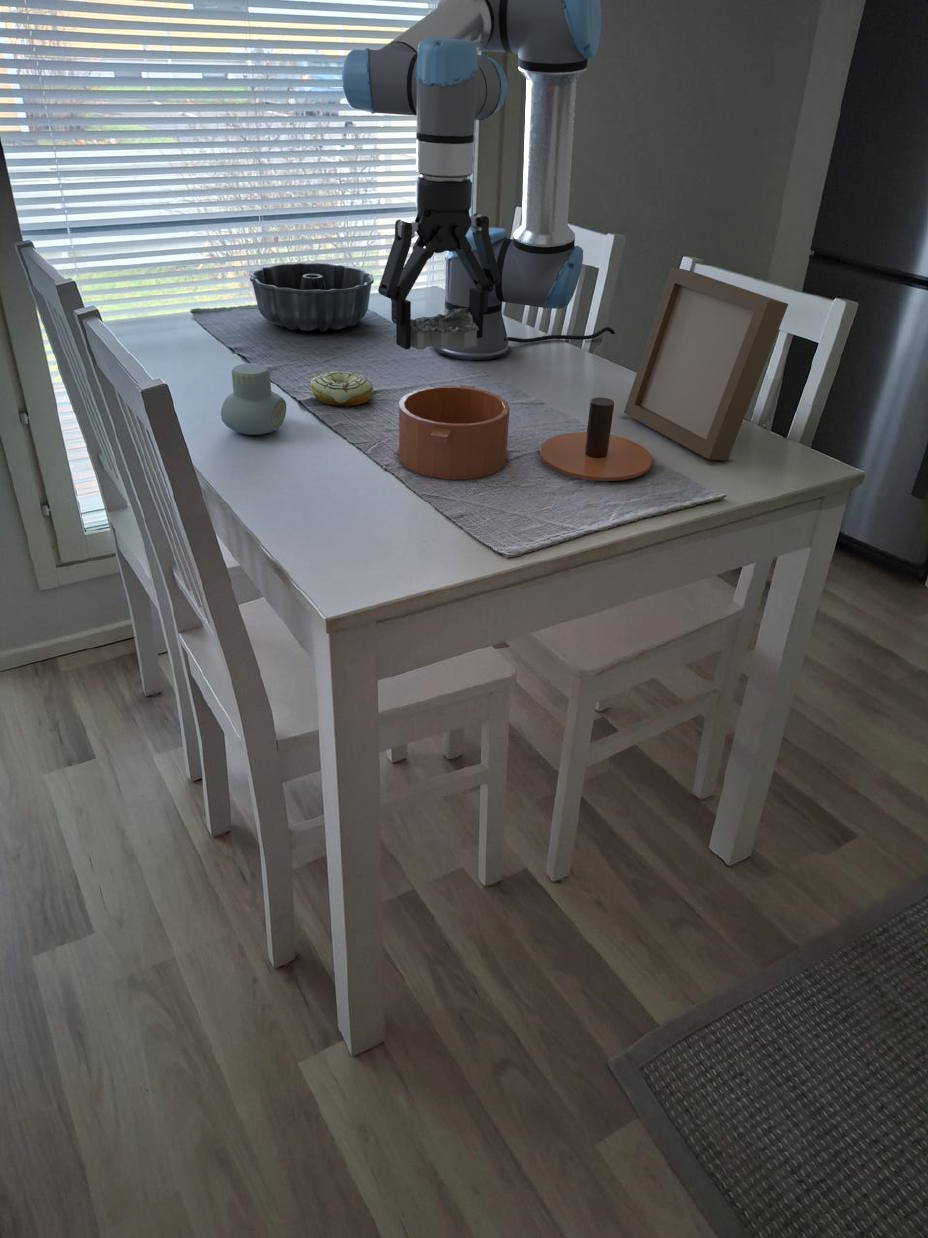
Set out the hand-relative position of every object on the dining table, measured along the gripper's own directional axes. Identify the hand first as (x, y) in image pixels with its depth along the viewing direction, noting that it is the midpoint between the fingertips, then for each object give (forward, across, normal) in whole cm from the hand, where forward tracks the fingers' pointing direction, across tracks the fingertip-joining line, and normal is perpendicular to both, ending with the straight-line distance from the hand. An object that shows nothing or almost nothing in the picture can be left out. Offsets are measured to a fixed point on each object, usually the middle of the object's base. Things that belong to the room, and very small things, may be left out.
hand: (440, 340), depth 132 cm
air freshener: (+18, +20, -23) cm, 36 cm away
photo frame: (+18, -44, +13) cm, 49 cm away
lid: (+17, -21, +14) cm, 30 cm away
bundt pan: (+18, -15, -74) cm, 78 cm away
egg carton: (0, 0, 0) cm, 0 cm away
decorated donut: (+18, +1, -29) cm, 35 cm away
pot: (+18, -2, +2) cm, 18 cm away
